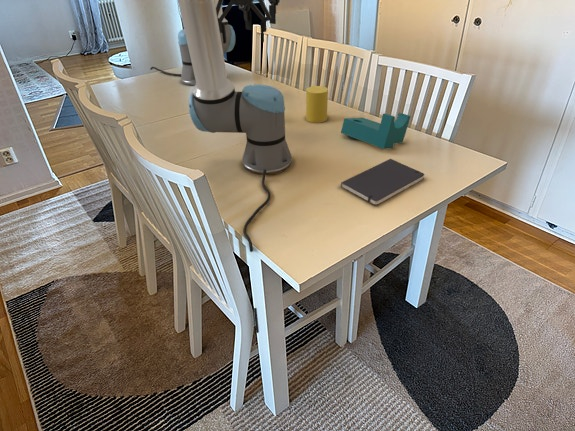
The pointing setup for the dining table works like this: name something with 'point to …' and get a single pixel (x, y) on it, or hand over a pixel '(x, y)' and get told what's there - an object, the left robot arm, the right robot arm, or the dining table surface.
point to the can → (316, 103)
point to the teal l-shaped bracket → (377, 130)
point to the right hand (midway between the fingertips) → (243, 42)
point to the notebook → (382, 181)
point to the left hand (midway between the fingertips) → (261, 26)
